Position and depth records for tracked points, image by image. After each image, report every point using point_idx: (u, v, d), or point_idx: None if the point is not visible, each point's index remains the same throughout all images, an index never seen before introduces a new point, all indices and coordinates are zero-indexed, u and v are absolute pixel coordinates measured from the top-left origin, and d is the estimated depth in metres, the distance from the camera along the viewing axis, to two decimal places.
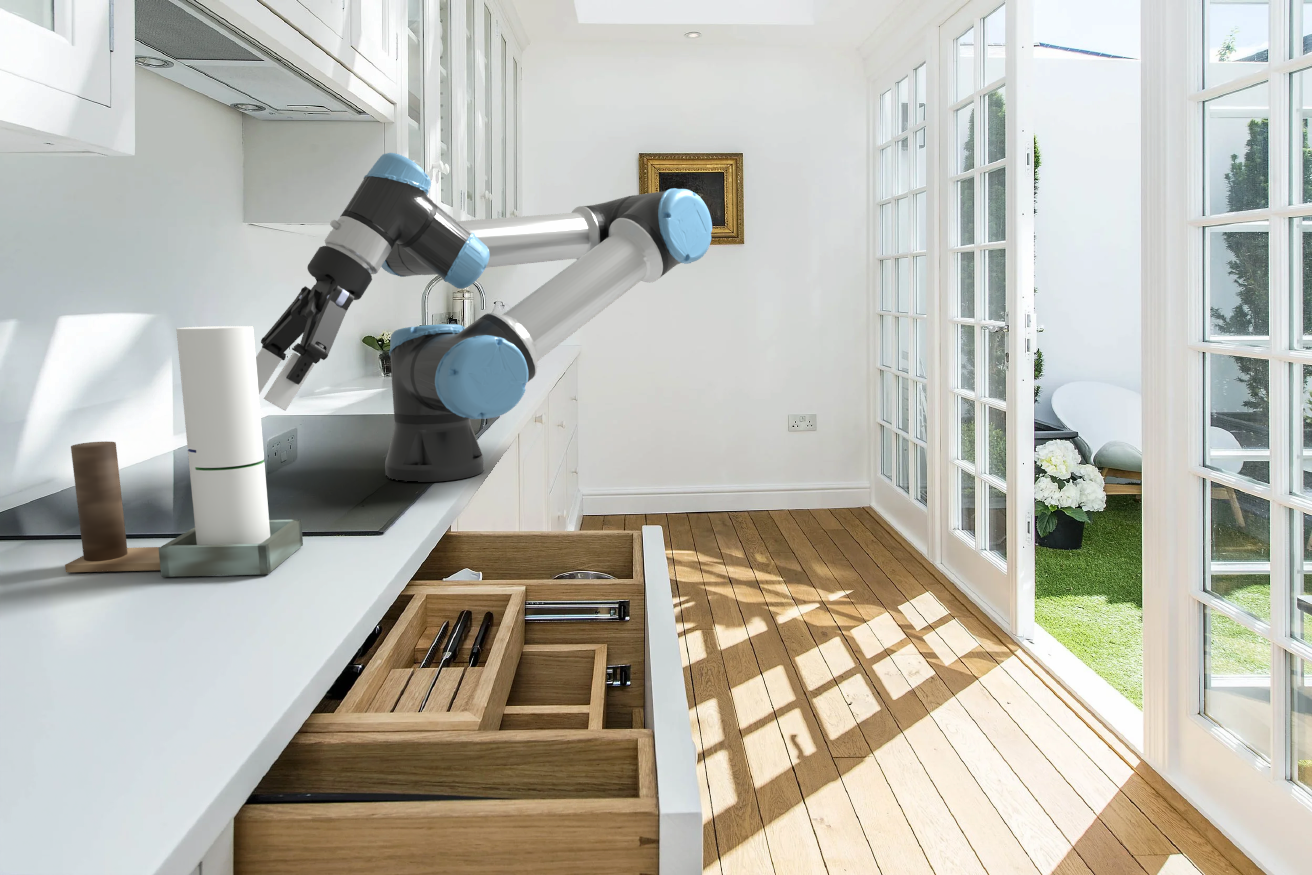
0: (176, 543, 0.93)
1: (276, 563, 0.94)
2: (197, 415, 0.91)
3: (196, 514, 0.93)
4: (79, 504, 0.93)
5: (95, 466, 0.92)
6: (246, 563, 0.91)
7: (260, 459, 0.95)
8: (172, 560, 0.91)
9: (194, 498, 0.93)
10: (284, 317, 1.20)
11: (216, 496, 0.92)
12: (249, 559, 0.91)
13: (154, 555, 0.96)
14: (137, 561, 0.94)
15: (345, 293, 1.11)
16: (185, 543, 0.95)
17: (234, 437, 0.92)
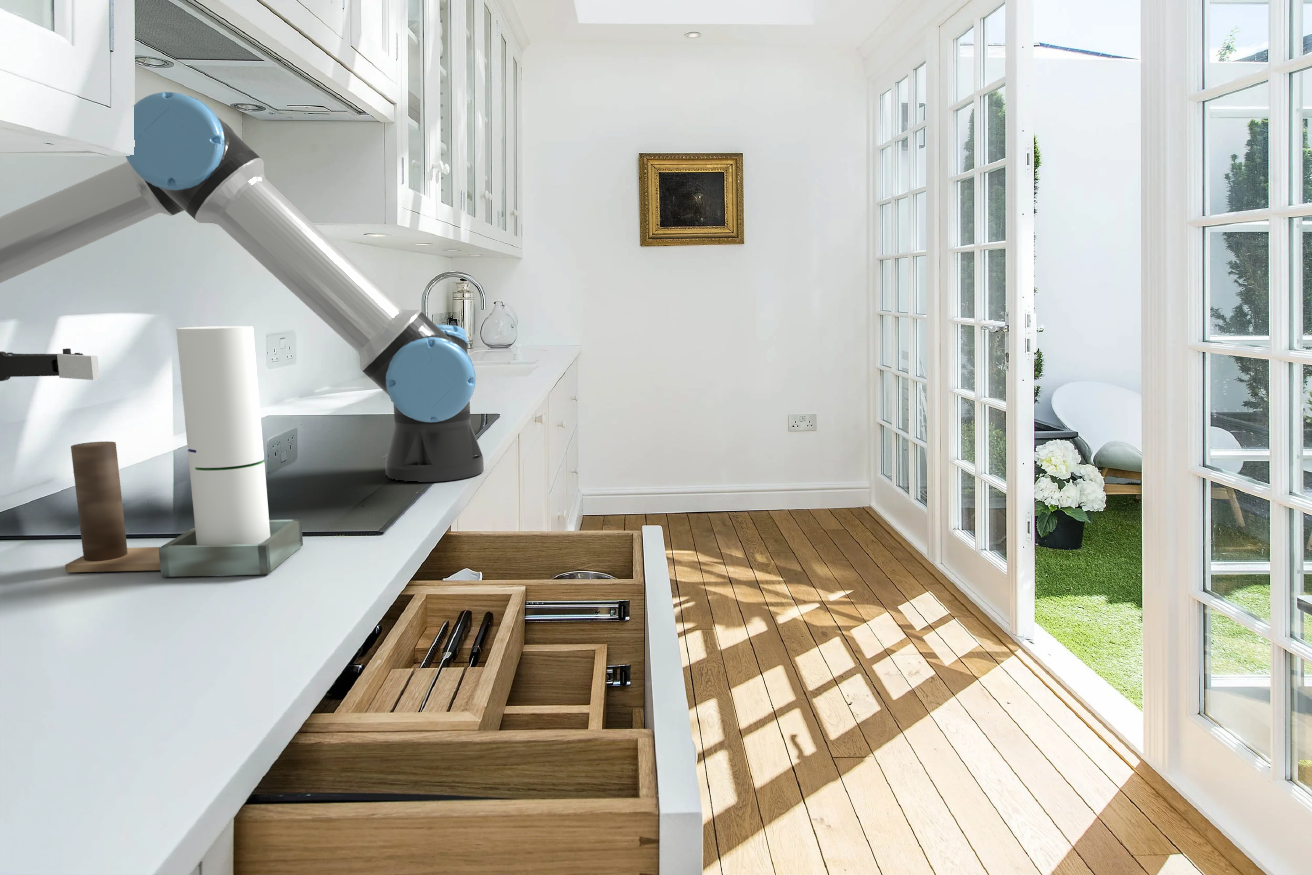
0: (176, 543, 0.93)
1: (276, 563, 0.94)
2: (197, 415, 0.91)
3: (196, 514, 0.93)
4: (79, 504, 0.93)
5: (95, 466, 0.92)
6: (246, 563, 0.91)
7: (260, 459, 0.95)
8: (172, 560, 0.91)
9: (194, 498, 0.93)
10: None
11: (216, 497, 0.92)
12: (249, 559, 0.91)
13: (154, 555, 0.96)
14: (137, 561, 0.94)
15: None
16: (185, 543, 0.95)
17: (234, 437, 0.92)
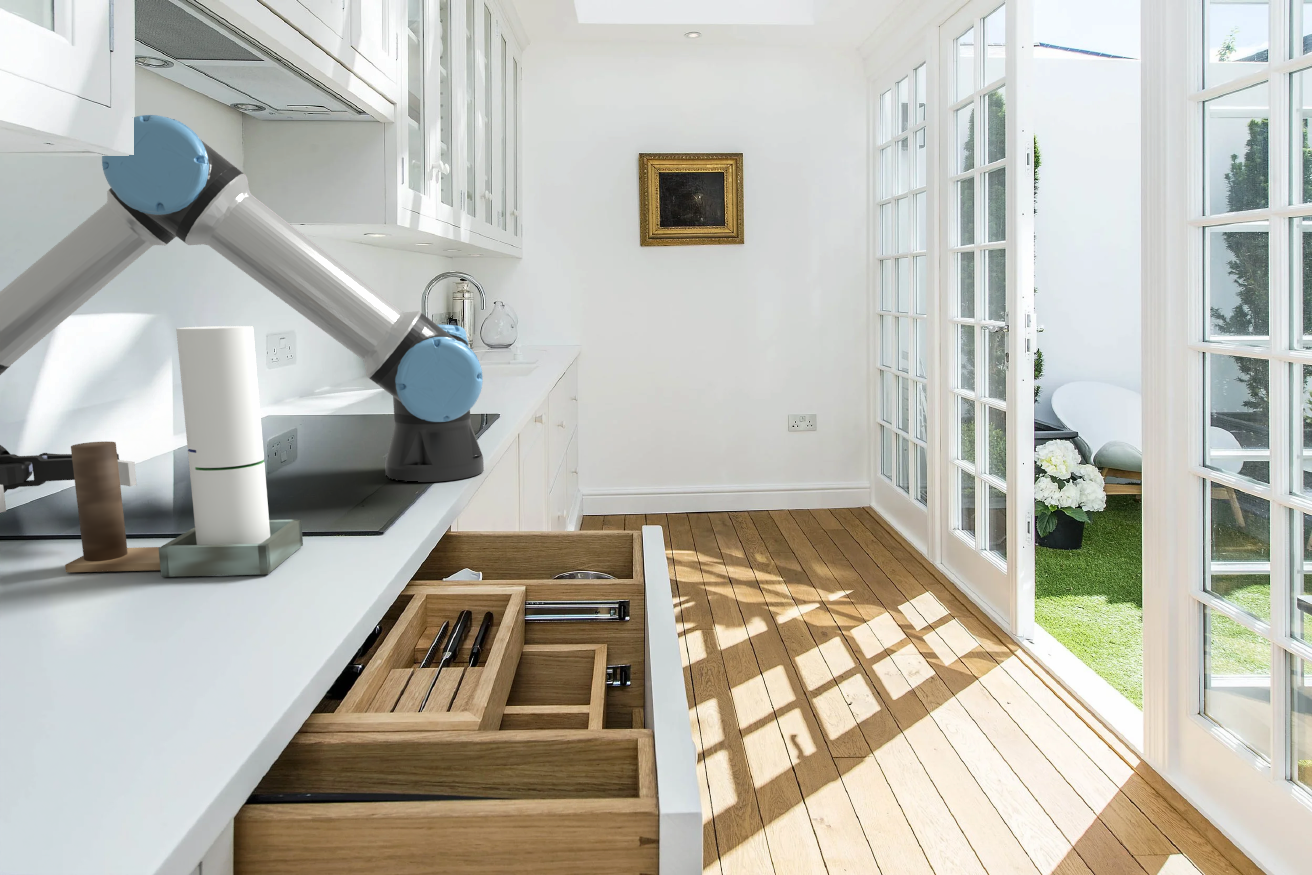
0: (176, 543, 0.93)
1: (276, 563, 0.94)
2: (197, 415, 0.91)
3: (196, 514, 0.93)
4: (79, 504, 0.93)
5: (95, 466, 0.92)
6: (246, 563, 0.91)
7: (260, 459, 0.95)
8: (172, 560, 0.91)
9: (194, 498, 0.93)
10: None
11: (216, 497, 0.92)
12: (249, 559, 0.91)
13: (154, 555, 0.96)
14: (137, 561, 0.94)
15: None
16: (185, 543, 0.95)
17: (234, 437, 0.92)
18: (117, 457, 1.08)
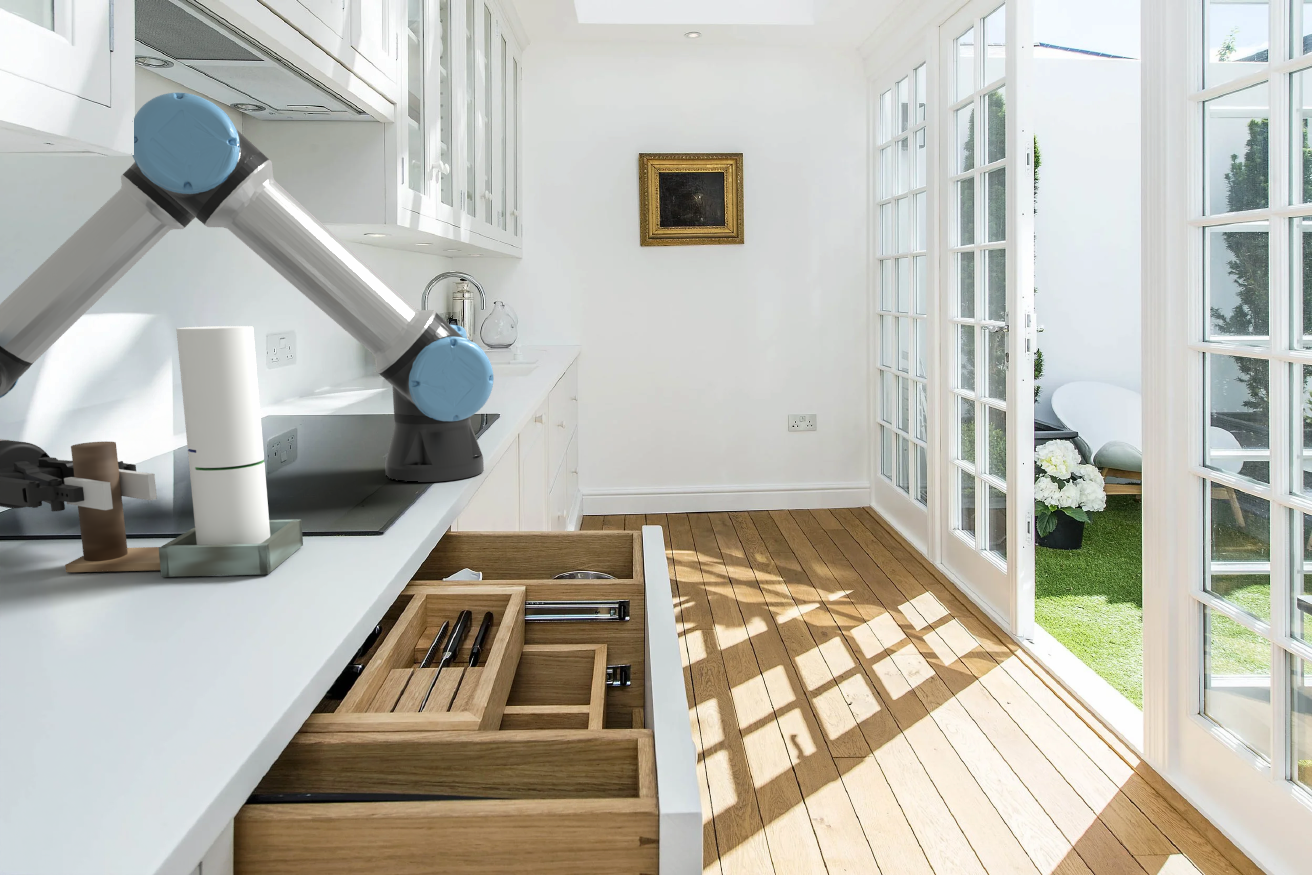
0: (176, 543, 0.93)
1: (276, 563, 0.94)
2: (197, 415, 0.91)
3: (196, 514, 0.93)
4: None
5: (95, 466, 0.92)
6: (246, 563, 0.91)
7: (260, 459, 0.95)
8: (172, 560, 0.91)
9: (194, 498, 0.93)
10: None
11: (216, 496, 0.92)
12: (249, 559, 0.91)
13: (154, 555, 0.96)
14: (137, 561, 0.94)
15: None
16: (185, 543, 0.95)
17: (234, 437, 0.92)
18: (132, 469, 1.00)
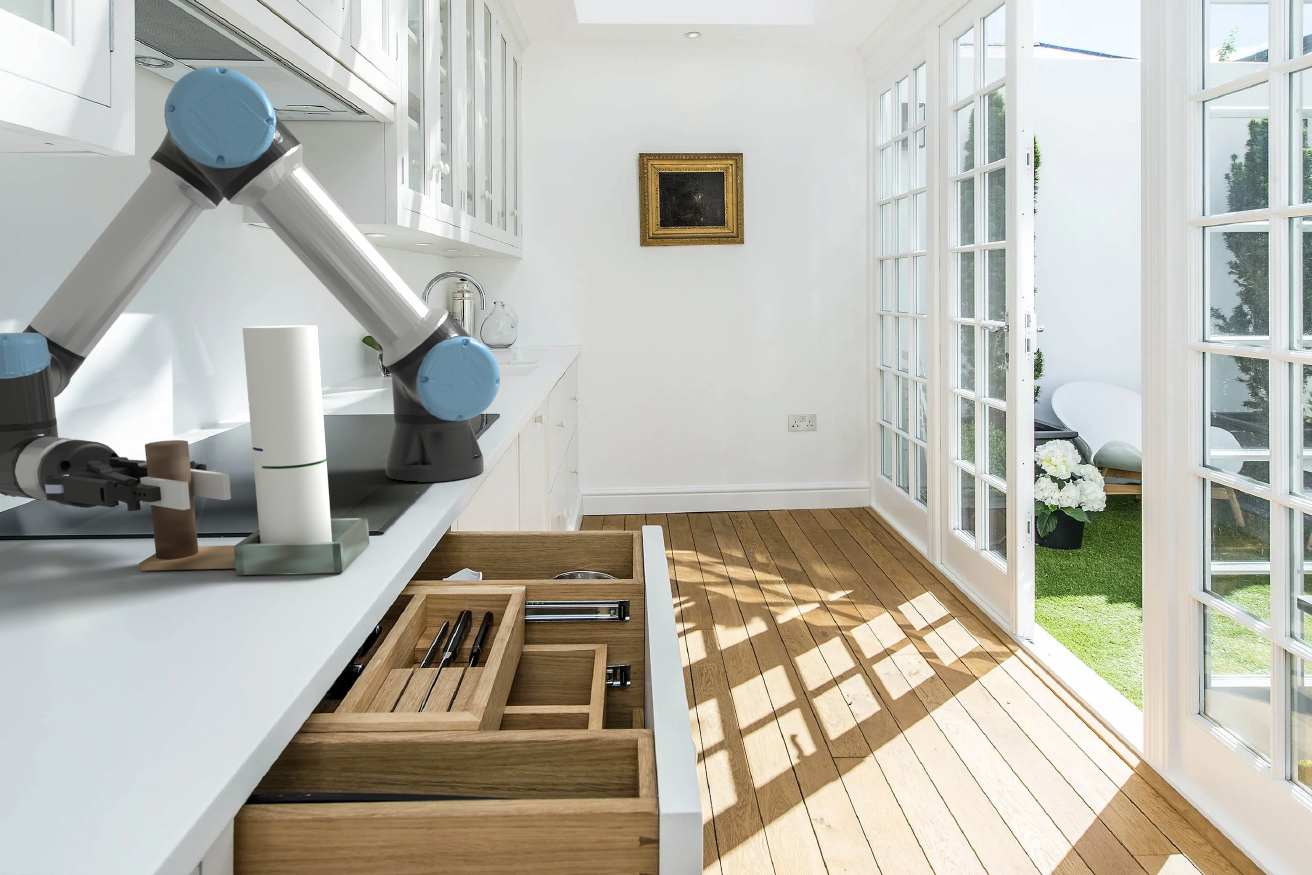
0: (250, 541, 0.93)
1: (349, 561, 0.94)
2: (264, 413, 0.91)
3: (261, 513, 0.93)
4: None
5: (169, 465, 0.93)
6: (321, 562, 0.92)
7: (324, 457, 0.95)
8: (247, 558, 0.91)
9: (259, 497, 0.93)
10: None
11: (283, 495, 0.92)
12: (323, 557, 0.92)
13: (225, 553, 0.96)
14: (210, 559, 0.94)
15: (46, 488, 0.94)
16: (257, 542, 0.95)
17: (301, 436, 0.92)
18: (203, 468, 1.00)
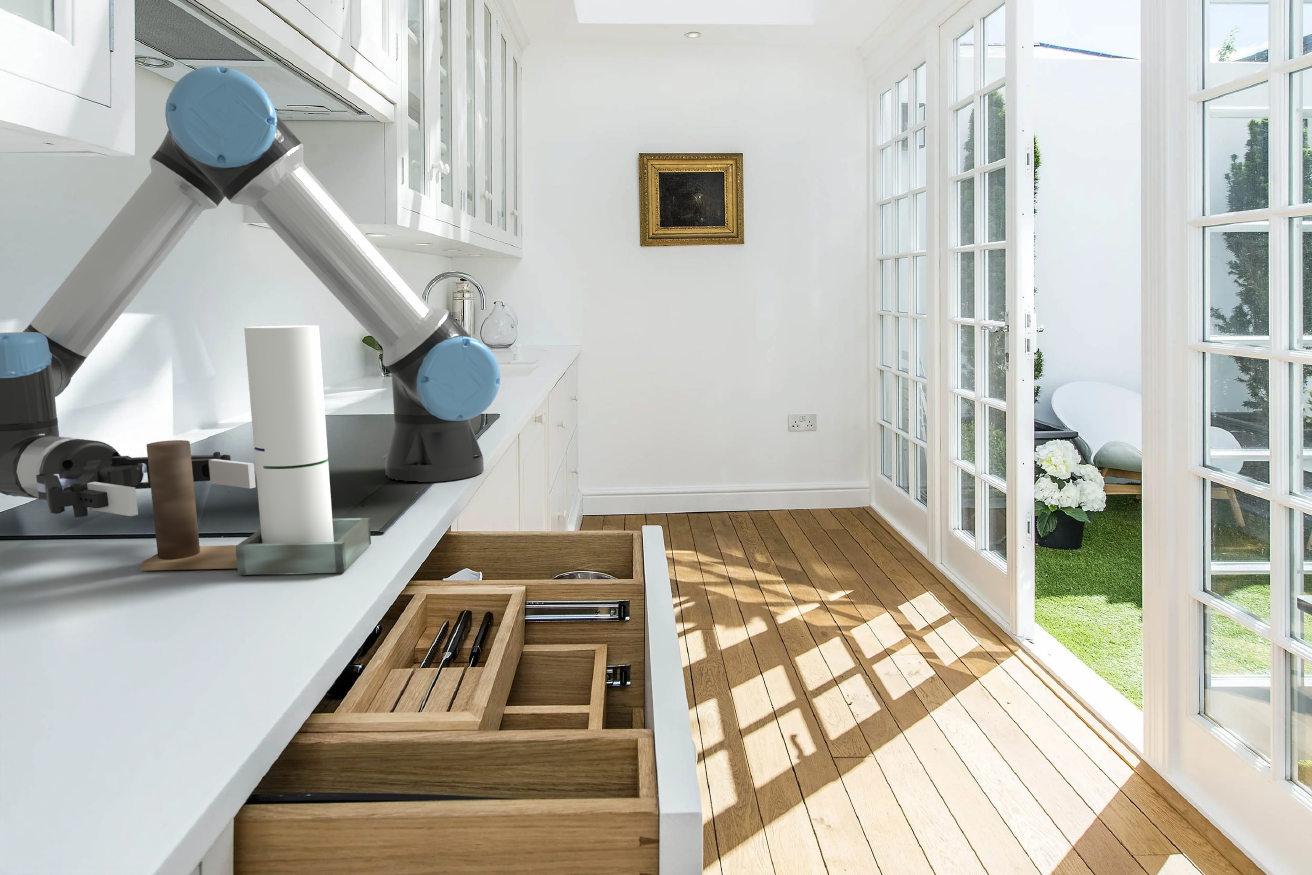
0: (251, 541, 0.93)
1: (350, 561, 0.94)
2: (266, 414, 0.91)
3: (263, 513, 0.93)
4: (154, 502, 0.94)
5: (171, 465, 0.93)
6: (322, 562, 0.92)
7: (325, 457, 0.95)
8: (249, 558, 0.91)
9: (261, 497, 0.93)
10: None
11: (285, 495, 0.92)
12: (325, 557, 0.92)
13: (227, 553, 0.96)
14: (212, 559, 0.94)
15: (37, 486, 0.95)
16: (259, 542, 0.95)
17: (302, 436, 0.92)
18: (229, 458, 1.05)
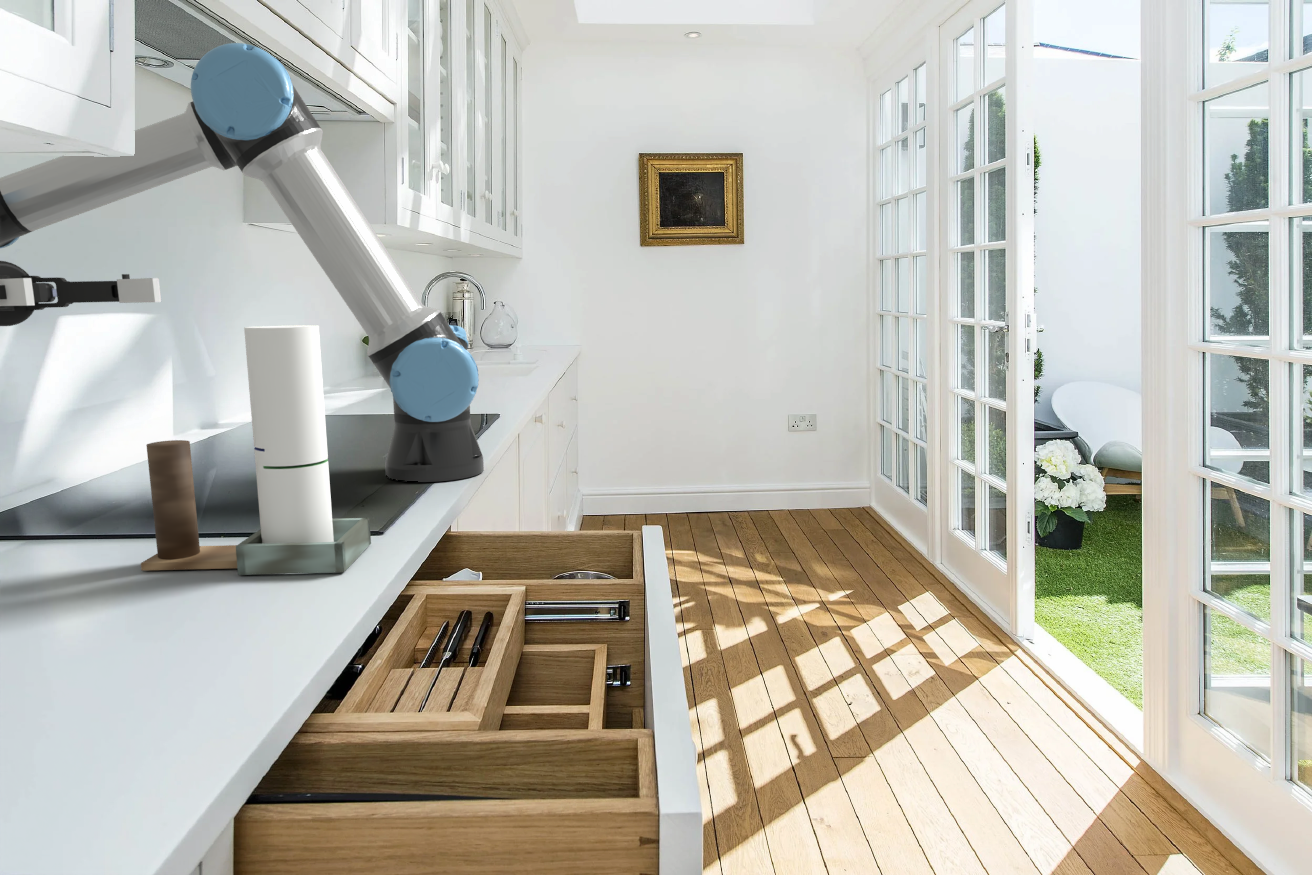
0: (251, 541, 0.93)
1: (350, 561, 0.94)
2: (266, 414, 0.91)
3: (263, 513, 0.93)
4: (154, 502, 0.94)
5: (171, 465, 0.93)
6: (322, 562, 0.92)
7: (325, 457, 0.95)
8: (249, 558, 0.91)
9: (261, 497, 0.93)
10: None
11: (285, 495, 0.92)
12: (325, 557, 0.92)
13: (227, 553, 0.96)
14: (212, 559, 0.94)
15: None
16: (259, 542, 0.95)
17: (302, 436, 0.92)
18: None
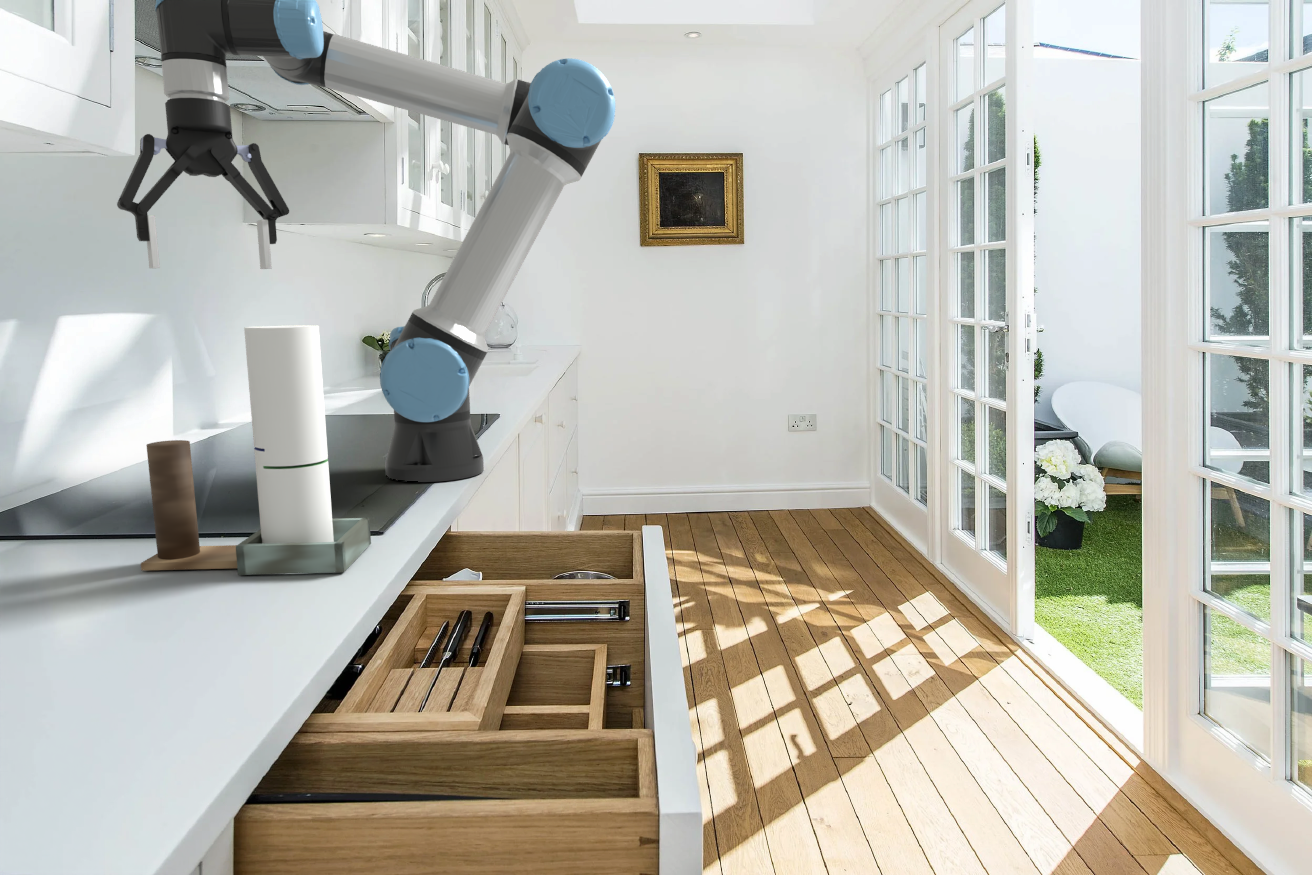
0: (251, 541, 0.93)
1: (350, 561, 0.94)
2: (266, 414, 0.91)
3: (263, 513, 0.93)
4: (154, 502, 0.94)
5: (171, 465, 0.93)
6: (322, 562, 0.92)
7: (325, 457, 0.95)
8: (249, 558, 0.91)
9: (261, 497, 0.93)
10: (259, 183, 1.23)
11: (285, 495, 0.92)
12: (325, 557, 0.92)
13: (227, 553, 0.96)
14: (212, 559, 0.94)
15: (142, 137, 1.13)
16: (259, 542, 0.95)
17: (302, 436, 0.92)
18: None
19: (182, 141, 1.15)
